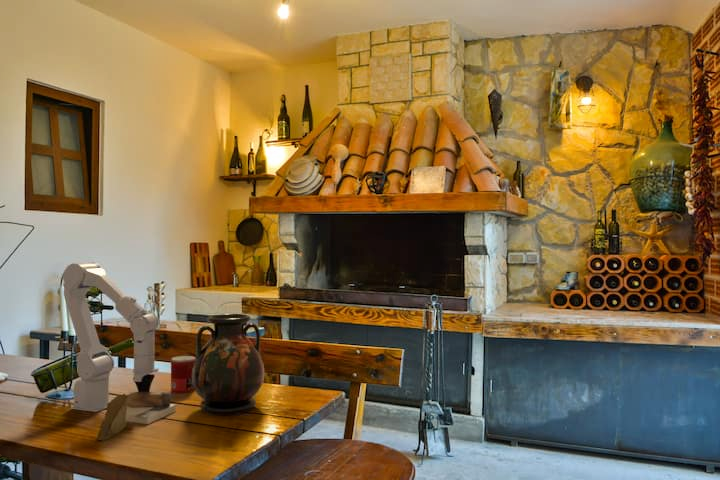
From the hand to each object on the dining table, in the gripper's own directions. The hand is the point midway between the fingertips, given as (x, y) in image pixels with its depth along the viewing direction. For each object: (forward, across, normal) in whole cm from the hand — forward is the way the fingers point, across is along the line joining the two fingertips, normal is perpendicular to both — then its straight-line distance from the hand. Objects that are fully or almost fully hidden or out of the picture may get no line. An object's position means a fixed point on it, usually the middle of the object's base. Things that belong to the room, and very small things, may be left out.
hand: (143, 399), depth 162 cm
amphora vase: (+3, 0, -25) cm, 25 cm away
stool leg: (+1, -2, -2) cm, 4 cm away
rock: (+3, -19, +4) cm, 20 cm away
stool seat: (+3, -4, -1) cm, 6 cm away
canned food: (+3, +22, -7) cm, 23 cm away
